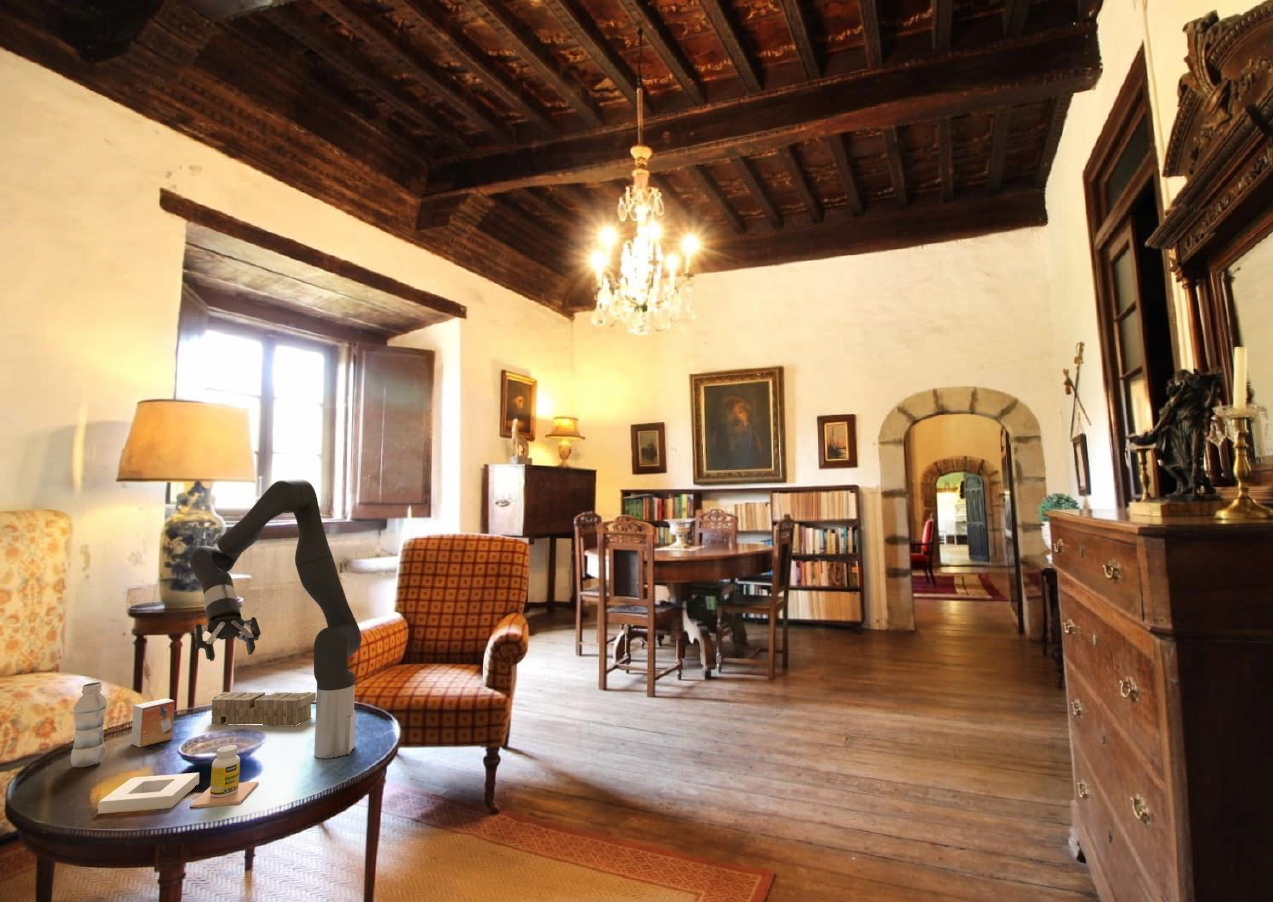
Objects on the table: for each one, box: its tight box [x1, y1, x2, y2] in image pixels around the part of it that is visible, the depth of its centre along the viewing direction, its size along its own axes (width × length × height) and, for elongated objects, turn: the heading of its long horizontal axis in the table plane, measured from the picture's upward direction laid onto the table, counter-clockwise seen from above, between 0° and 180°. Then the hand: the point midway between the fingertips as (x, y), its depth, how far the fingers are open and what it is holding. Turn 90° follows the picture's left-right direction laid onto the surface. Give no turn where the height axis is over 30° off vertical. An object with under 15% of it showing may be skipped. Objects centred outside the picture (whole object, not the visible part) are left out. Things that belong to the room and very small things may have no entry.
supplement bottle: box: [209, 744, 241, 797], centre depth 143 cm, size 5×5×10 cm
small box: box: [130, 697, 176, 748], centre depth 176 cm, size 8×6×10 cm
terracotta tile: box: [189, 781, 259, 808], centre depth 143 cm, size 10×10×1 cm
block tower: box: [211, 691, 317, 727], centre depth 192 cm, size 8×8×29 cm
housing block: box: [97, 772, 200, 815], centre depth 142 cm, size 14×12×2 cm
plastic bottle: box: [69, 681, 108, 768], centre depth 160 cm, size 6×7×20 cm
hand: (232, 655), depth 162 cm, fingers open, 8 cm apart
